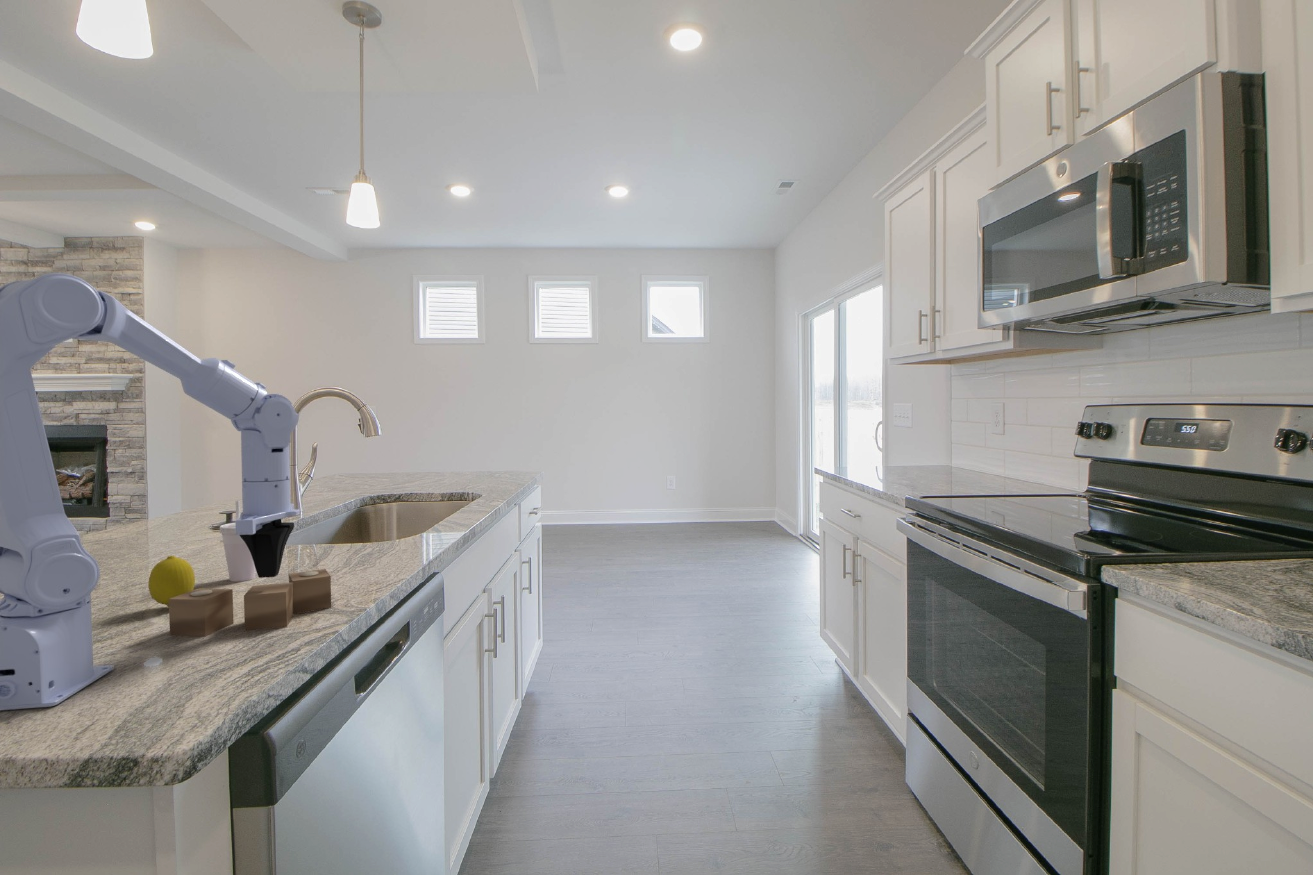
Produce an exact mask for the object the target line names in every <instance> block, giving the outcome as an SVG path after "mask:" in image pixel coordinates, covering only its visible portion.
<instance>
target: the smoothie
mask: <svg viewBox="0 0 1313 875" xmlns="http://www.w3.org/2000/svg"><path fill="white" fill-rule="evenodd" d="M240 515H241V508H240V500H235V519H236V520H238V519H239V518H240ZM236 520H235V521H236ZM218 533H220V534H221V537H222V543H223V548H224V553H225V558H226V559H225V560H226V565H227V570H228V577H229V581H230V582H233V583H234V582H238V583H239V582H245V581H246V582H247V581H250V580H253V579H255V578H256V573H257V571H256V568H255V565H254V562H253V559H252V556H251V553H250V551H249V549H248V547H247V545H246V544H245V542H244V541H243V539H242V538H241V537H240V535H236V522H230V523H225V524H222V525H220V526H219V532H218Z"/></svg>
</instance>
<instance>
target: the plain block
mask: <svg viewBox="0 0 1313 875" xmlns="http://www.w3.org/2000/svg"><path fill="white" fill-rule="evenodd" d="M243 609H244V610H243V611H244V612H243V613H244V615H243V617H244V632H250V631H260V630H270V629H279V628H288V626H289V624H290V622H291V621H292V619H293V618H294V614H293V582H292V583H289V582H281V583H272V584H257V585H252V586H251V587H250V588H249V589H248V591H247V592H246V593H245V594H244V595H243Z"/></svg>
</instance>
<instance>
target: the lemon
mask: <svg viewBox="0 0 1313 875" xmlns="http://www.w3.org/2000/svg"><path fill="white" fill-rule="evenodd" d="M195 577H196V576H195V572H194V569H193V567H192V565H191V564H190V563H189V562H188V561H187V560H185V559H184V558H180V557H176V556H175V555H169V556H167V557H166V558H165V559H163V560H161V561H159V562H157V563H156V564H155V565H154V566H153V568H152V570H151V571H150V574H149V578H148V583H147V584H148V591H149V594H150V596H151V598H152V599H153V600H154V601H155V602H157V603H159V604H160V605H165V606H167V607H168V608H169V599H170V598H173V597H176V596H179V595H182V594H184V593H187V592H190V591H193V590H195V585H196V584H195V583H196V578H195Z"/></svg>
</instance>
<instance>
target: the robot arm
mask: <svg viewBox="0 0 1313 875" xmlns="http://www.w3.org/2000/svg"><path fill="white" fill-rule="evenodd" d="M71 339H73V340H83V341H94V342H104V343H105V342H106V343H111V344H113V345H116V346H117V347H120V348H121V349H122V350H125V351H127V352H128V353H130V354H132V355H133V356H136V357H138V358H139V359H142V360H143V361H145V362H147V363H149V364H151V365H153V366H155V367H157V368H159V369H161V370H163V371H164V372H166V373H167V374H170V375H172V376H174V377H176V378H178V379H179V381H180V384H181V387H182V390H183V392H184V394H185V395H187V396H189V397H190V398H192V399H194V400H196V401H197V402H199V403H200V404H202V405H204V406H206V407H208V408H209V409H211V410H213V411H215V412H217V413H218V414H220V415H222V416H224V417H225V418H227V419H229V420H230V422H231V424H232V426H233V427H234V428H235V429H236V430H237V431H238V432H240V434H241V435H240V441H241V444H240V445H241V447H240V448H241V450H240V451H241V454H240V455H241V494H242V495H241V497H242V499H241V500H242V501H241V502H242V504H241V505H242V512H240V518H239V519H238V520H235V523H236V535H240V537H241V538H242V539H243V541H244V542H245V544H246V545H247V547H248V549H249V551H250V553H251V556H252V559H253V562H254V565H255V568H256V574H257V576H258V578H259V579H260V578H261V579H262V578H263V579H264V578H274V577H275V578H276V577H277V576H278V575H279V574H280V573H279V572H280V569H281V566H282V560H283V557H284V551H285V549H286V546H287V542H288V539H289V538H290V536H291V535H292V532H293V531H294V528H295V523H294V522H292V521H291V522H285V521H284V522H282V520H283V519H287V518H293V517H296V516H299V515H300V514H301V509H298V508H297V509H295V504H294V503H291V502H292V500H291V456H290V454H291V449H290V443H292V442H291V441H292V438H291V437H292V432H293V431H294V430H295V428H296V427H297V425H298V422H299V420H300V419H299V417H300V414H299V413H297V412H296V410H295V407H294V406H293V403H292V402H291V401H290V400H289V399H288V398H287V397H285V396H284V395H281V394H278V393H269V392H267V390H266V388H267V386H266V385H265V384H263V383H261V382H254V381H253V380H251V379H250V378H248V377H247V376H245V375H244V374H242V373H240V372H239V371H237V370H236V369H234V368H235V367H236V364H235V363H233V362H232V361H231V360H228V359H221V360H220V359H219V358H216V357H210V358H203V359H201V358H199V357H197V356H196V355H195V354H193V353H191V352H190V351H189V350H187V349H186V348H184V347H183V346H181V345H180V344H179V343H177V342H176V341H174V340H173V339H172V338H170V337H168V335H166V334H165V333H163V332H161V331H160V330H159V329H158V328H156V327H154V326H152V325H151V324H150V323H148V322H147V321H146V320H145V319H142V318H141V317H139V316H138V314H136V313H134V312H133V311H131V310H129V309H128V308H127V307H126V306H125V305H123V303H121V302H120V301H119V300H117V299H116V298H115V297H114V296H113V295H112V294H109V293H107V292H105V291H102V290H96V288H95V287H94V286H92V285H91V284H90V283H89V282H87V281H85V280H84V279H82V277H81V278H80V277H78V276H76V275H73V274H69V273H63V272H51V273H45V274H41V275H39V276H37V277H35V278H30V279H26V280H15V281H11V282H9V283H8V282H7V283H6V284H4V285H2V286H0V594H2V595H3V597H2V599H1V600H0V711H8V710H21V709H34V708H35V709H36V708H47V707H49V708H50V707H53V706H56V705H58V704H60V703H62V702H63V701H65V700H66V699H68V698H70V697H71V696H73V695H74V694H76V693H78V692H79V691H81V690H83V689H85V688H86V687H87V686H88V685H90V684H92V683H94V682H95V681H97V680H98V679H100V678H101V677H103V676H104V675H106V674H108V673H110V672H112V671H113V670H114V668H115V667H114V664H108V665H107V664H106V665H104V664H103V665H94V648H93V647H94V646H93V645H94V644H93V621H92V619H93V618H92V617H93V616H92V600H91V599H92V595H91V594H92V592H93V591H94V590H95V588H96V587H97V586H98V583H99V580H100V575H101V571H100V570H101V569H100V566H99V563H98V562H97V560H96V559H95V557H94V556H92V554H90V553H89V552H88V551H87V550H86V549H85V548H84V546H83V543H82V541H81V540H82V539H81V535H80V533H79V532H78V530H77V529H76V528H75V526H74V524H73V523H72V522H71V521H70V519H69V518H68V516H67V514H66V512H65V508H64V503H63V498H62V494H61V492H60V491H61V490H60V488H59V483H58V480H57V474H56V471H55V466H54V462H53V457H52V454H51V450H50V445H49V441H48V437H47V434H46V430H45V424H44V421H43V417H42V413H41V408H40V404H39V400H38V396H37V392H36V388H35V387H36V386H35V384H34V383H35V382H34V379H33V376H32V370H31V369H32V367H33V366H34V365H36V363H37V362H39V361H40V360H41V359H42V358H43V357H45V356H46V355H47V354H49V352H51V351H52V350H53V349H54V348H55V347H56V346H58V345H60V344H61V343H63V342H67V341H69V340H71Z"/></svg>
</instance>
